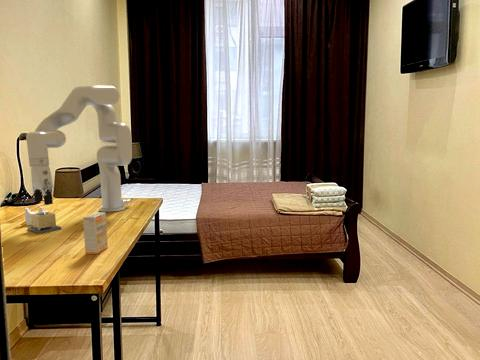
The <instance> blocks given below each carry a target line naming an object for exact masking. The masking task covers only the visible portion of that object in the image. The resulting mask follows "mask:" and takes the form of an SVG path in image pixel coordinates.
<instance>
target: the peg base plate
mask: <svg viewBox="0 0 480 360" xmlns="http://www.w3.org/2000/svg"><path fill="white" fill-rule="evenodd" d="M41 215H47V213H46V212H43V213H40V216H41ZM27 230H28V231H29V232H32V233H34V234H37V235H38V234H43V233H49V232H54V231H58V230H59V231H60V230H62V227H61V226H60V225H58V224H56V226H51V227H45V228H40V229H39V228H36V227H34V226H32V225H31V226H29V227H27Z"/></svg>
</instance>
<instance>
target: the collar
mask: <svg viewBox="0 0 480 360" xmlns="http://www.w3.org/2000/svg"><path fill="white" fill-rule="evenodd" d="M42 213H43V212H42ZM46 213H47V215H41V216H40V213H36V214H31V215H32V225H31V226H34V227H36V228H39V229H40V228H45V227H51V226H56V225H57V222H56V213H54V212H51V211H48V212H46Z"/></svg>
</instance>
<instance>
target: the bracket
mask: <svg viewBox="0 0 480 360" xmlns="http://www.w3.org/2000/svg"><path fill="white" fill-rule="evenodd" d="M42 212H49V210H44V206H40V207H39V209H38V210H37V211H31V210H30V209H29V207H25V208H24V215H25V216H24V217H25V226H29V225H31V226H32V215H31V214H36V213H42Z"/></svg>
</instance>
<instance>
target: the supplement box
mask: <svg viewBox="0 0 480 360" xmlns="http://www.w3.org/2000/svg"><path fill="white" fill-rule="evenodd" d="M82 224H83V235H84V237H83V239H84V240H83V241H84V251H85V252H84V253H85V255H99V254H100V253H102V252H103V251H104V250H106V249H108V245H109V244H108V233H107V232H108V230H107V215H106V212H102V211H96V212H92V213H90V214H87V215H85V216H83V217H82Z"/></svg>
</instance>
